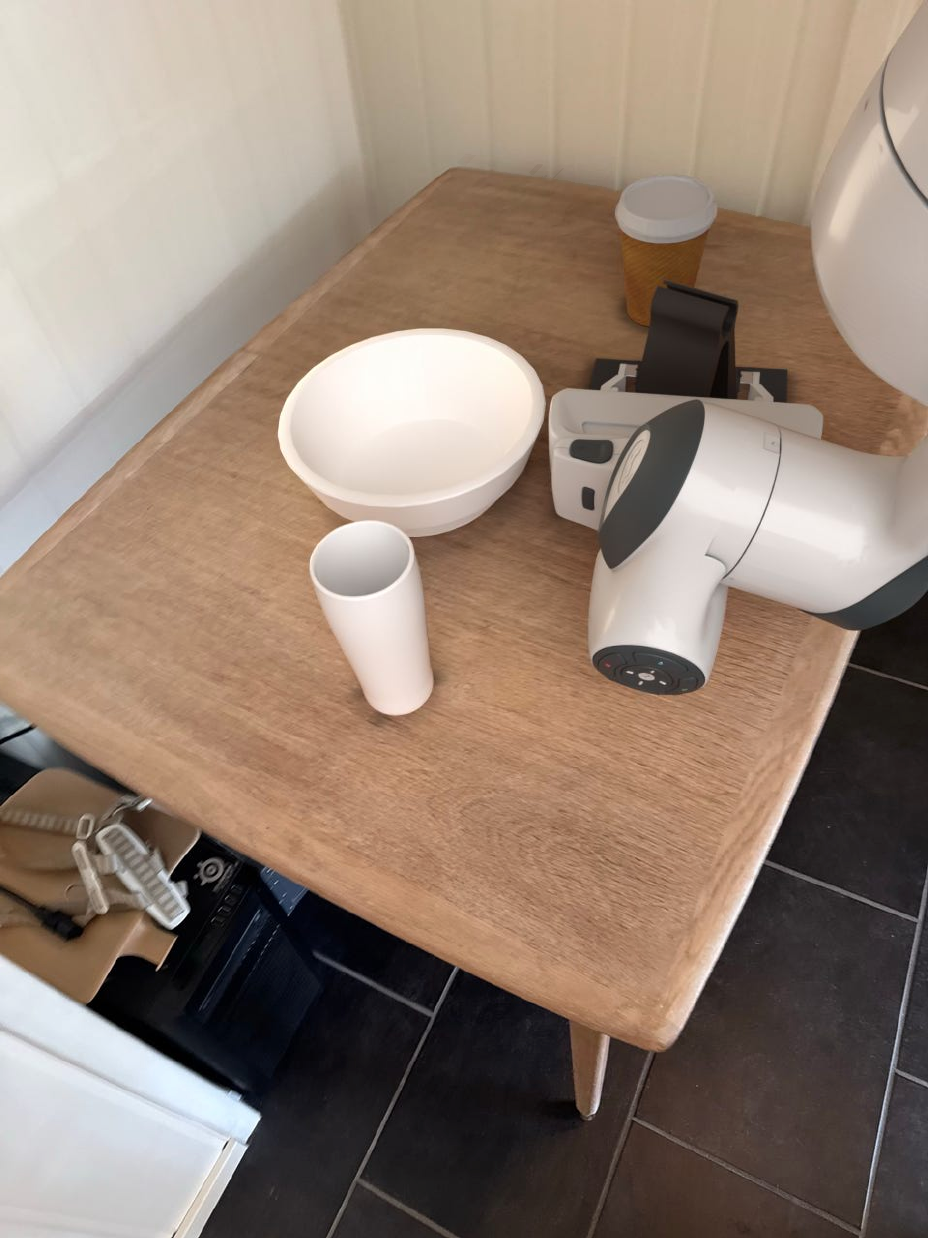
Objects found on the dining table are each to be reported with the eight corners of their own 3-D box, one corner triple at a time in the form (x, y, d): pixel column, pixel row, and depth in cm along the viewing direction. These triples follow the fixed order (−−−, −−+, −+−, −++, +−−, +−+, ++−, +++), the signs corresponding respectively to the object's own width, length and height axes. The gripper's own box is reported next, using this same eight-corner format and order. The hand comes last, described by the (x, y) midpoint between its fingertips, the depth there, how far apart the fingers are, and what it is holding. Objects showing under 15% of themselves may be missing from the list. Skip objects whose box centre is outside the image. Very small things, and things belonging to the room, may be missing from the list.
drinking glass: (403, 637, 69) (367, 502, 57) (463, 685, 66) (437, 552, 54) (337, 691, 67) (285, 562, 55) (396, 744, 63) (354, 619, 51)
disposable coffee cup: (710, 333, 88) (726, 218, 79) (615, 340, 89) (619, 227, 80) (697, 280, 94) (711, 167, 85) (607, 287, 95) (611, 176, 86)
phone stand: (675, 376, 80) (688, 254, 71) (736, 397, 78) (758, 273, 68) (624, 434, 76) (631, 312, 67) (687, 457, 74) (703, 335, 64)
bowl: (282, 579, 74) (253, 510, 67) (320, 406, 88) (299, 334, 81) (550, 571, 72) (547, 498, 65) (546, 394, 85) (544, 319, 79)
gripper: (835, 475, 58) (833, 348, 66) (531, 450, 63) (564, 334, 71) (814, 540, 63) (815, 414, 71) (535, 512, 68) (565, 397, 76)
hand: (688, 374), depth 71 cm, fingers open, 8 cm apart
